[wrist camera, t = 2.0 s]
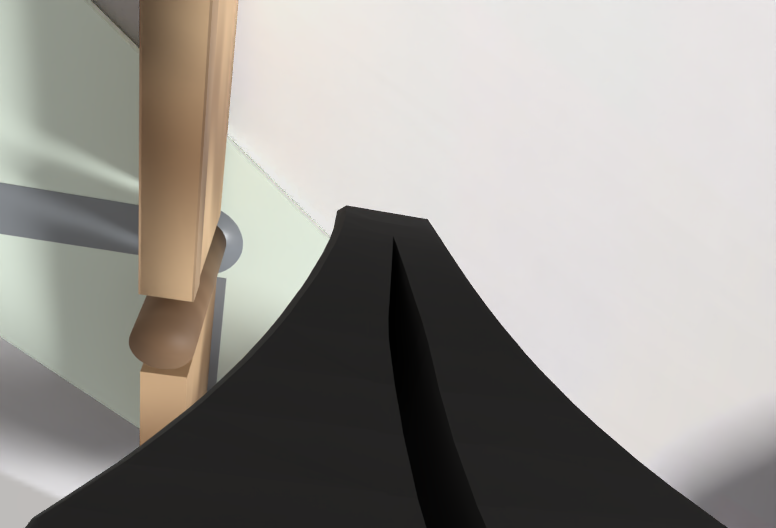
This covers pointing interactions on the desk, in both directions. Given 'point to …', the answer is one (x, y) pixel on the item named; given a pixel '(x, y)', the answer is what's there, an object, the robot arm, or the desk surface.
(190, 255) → the fence wing
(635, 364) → the desk surface
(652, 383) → the desk surface
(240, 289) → the card
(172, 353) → the fence fixed
